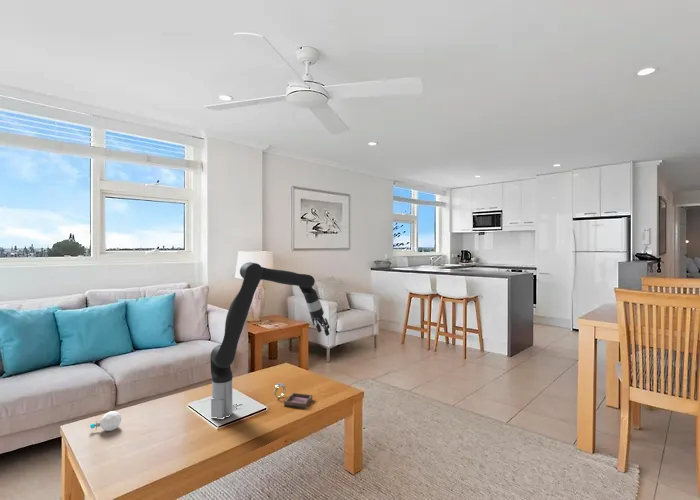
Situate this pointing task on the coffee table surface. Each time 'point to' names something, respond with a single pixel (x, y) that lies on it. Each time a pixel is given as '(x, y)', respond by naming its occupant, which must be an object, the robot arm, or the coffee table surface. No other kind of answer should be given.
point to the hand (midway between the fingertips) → (323, 333)
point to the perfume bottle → (108, 421)
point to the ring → (277, 389)
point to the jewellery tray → (298, 400)
